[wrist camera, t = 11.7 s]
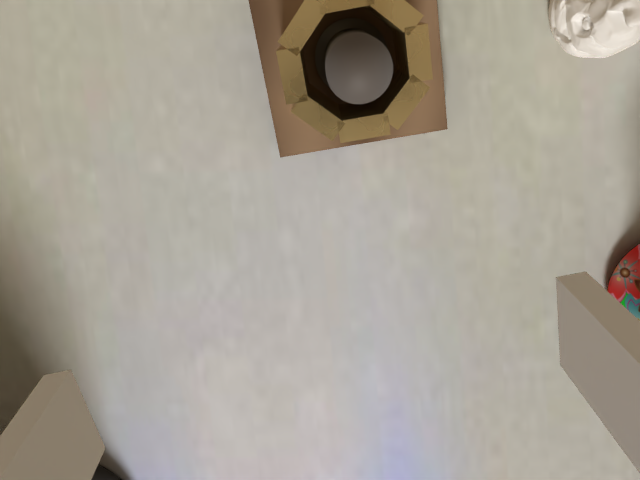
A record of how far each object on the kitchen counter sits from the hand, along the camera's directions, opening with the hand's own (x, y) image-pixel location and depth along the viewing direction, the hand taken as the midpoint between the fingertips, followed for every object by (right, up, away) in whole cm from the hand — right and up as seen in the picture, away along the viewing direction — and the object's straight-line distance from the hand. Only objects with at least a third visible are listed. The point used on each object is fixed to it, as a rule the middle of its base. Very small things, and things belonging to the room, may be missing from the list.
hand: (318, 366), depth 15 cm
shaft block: (+2, +14, +18) cm, 23 cm away
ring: (+2, +14, +16) cm, 21 cm away
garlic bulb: (+16, +17, +18) cm, 29 cm away
